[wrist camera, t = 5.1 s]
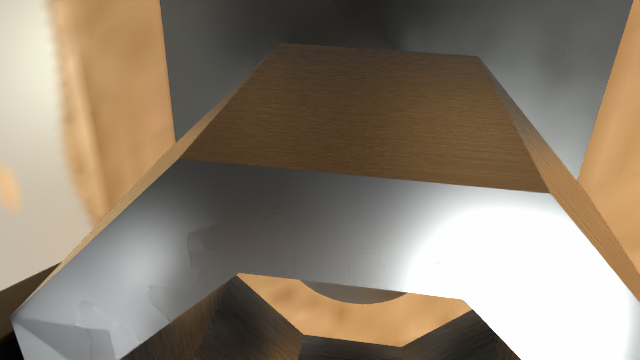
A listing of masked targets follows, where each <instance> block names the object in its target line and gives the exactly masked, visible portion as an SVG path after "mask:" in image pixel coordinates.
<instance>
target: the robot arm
mask: <svg viewBox="0 0 640 360" xmlns="http://www.w3.org/2000/svg"><path fill="white" fill-rule="evenodd" d="M61 263H62V262H60V263H58V264H56V265H54V266H52V267H50V268H48V269H46V270H43V271H42V272H39V273H37V274H35V275H33V276H31V277H29V278H27V279H25V280H23V281H20V282H18V283H16V284H14V285H12V286H10V287H8V288H6V289H4V290H2V291H0V360H24V357H23V354H22V351H21V348H20V346H19V343H18V340H17V337H16V334H15V331H14V328H13V325H12V323H11V320H10V316H11V315H12V314H13V313H14V312H15V311H16V310H17V309H18V308H19V307H20V306H21V305H22V304H23V303H24V302H25V300H26V299H27V298H28V297H29V296H30V295H31V294H32V293H33V292H34V291H35V290H36V289H37V288H38V287H39V286H40V285H41V284H42V283H43V282H44V280H45V279H46V278H47V277H48V276H49V275H50V274H51V273H52V272H53V271H54V270H55V269H56V268H57V267H58V266H59V265H60V264H61Z"/></svg>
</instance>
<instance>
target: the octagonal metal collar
mask: <svg viewBox="0 0 640 360" xmlns="http://www.w3.org/2000/svg"><path fill="white" fill-rule="evenodd" d="M238 273H246V274H255V275H263V276H272V277H281V278H289V279H298V280H306V281H315V282H323V283H332V284H341V285H349V286H358V287H366V288H375V289H383V290H392V291H401V292H409V293H418V294H426V295H435V296H443V297H452V298H461V299H464V300H465V301H466V302H467V303H468V304H469V305H470V306H471V307H472V308H473V310H471V311H469V312H467V313H465V314H463V315H461V316H460V317H458V318H456V319H454V320H452V321H450V322H448V323H446V324H444V325H442V326H441V327H439V328H437V329H435V330H433V331H431V332H429V333H427V334H425V335H424V336H422V337H420V338H418V339H416V340H414V341H412V342H410V343H408V344H407V345H405V346H403V347H395V346H388V345H380V344H372V343H364V342H356V341H349V340H341V339H333V338H325V337H317V336H310V335H303V334H302V333H301V332H300V331H299V330H298V329H296V328H295V327H294V326H293V325H292V324H291V323H290V322H289V321H287V320H286V319H285V318H284V317H283V316H282V315H281V314H279V313H278V312H277V311H276V310H275V309H274V308H273V307H272V306H270V305H269V304H268V303H267V302H266V301H265V300H264V299H262V298H261V297H260V296H259V295H258V294H257V293H256V292H255V291H253V290H252V289H251V288H250V287H249V286H248V285H247V284H246V283H244V282H243V281H242V280H241V279H240V278H239V277H238V276H236V274H238ZM10 320H11V323H12V325H13V328H14V331H15V334H16V337H17V340H18V343H19V346H20V348H21V351H22V354H23V357H24V360H640V274H639V273H638V271H637V270H636V268H635V266H634V265H633V263H632V262H631V260H630V259H629V257H628V256H627V254H626V253H625V251H624V250H623V248H622V246H621V245H620V243H619V242H618V240H617V239H616V237H615V236H614V234H613V233H612V231H611V230H610V228H609V227H608V225H607V223H606V222H605V220H604V219H603V217H602V216H601V214H600V213H599V211H598V210H597V208H596V207H595V205H594V204H593V202H592V200H591V199H590V197H589V196H588V194H587V193H586V192H585V190H584V189H583V188H582V187H581V185H580V184H579V183H578V181H577V180H576V179H575V178H574V176H573V175H572V174H571V173H570V171H569V170H568V169H567V168H566V166H565V165H564V164H563V163H562V161H561V160H560V159H559V157H558V156H557V155H556V154H555V152H554V151H553V150H552V149H551V147H550V146H549V145H548V144H547V142H546V141H545V140H544V138H543V137H542V136H541V135H540V133H539V132H538V131H537V130H536V128H535V127H534V126H533V125H532V123H531V122H530V121H529V119H528V118H527V117H526V116H525V114H524V113H523V112H522V111H521V109H520V108H519V107H518V106H517V104H516V103H515V102H514V101H513V99H512V98H511V97H510V95H509V94H508V93H507V92H506V90H505V89H504V88H503V87H502V85H501V84H500V83H499V82H498V80H497V79H496V78H495V76H494V75H493V74H492V73H491V71H490V70H489V69H488V68H487V66H486V65H485V64H484V63H483V61H482V60H481V59H480V58H479V56H471V55H456V54H441V53H426V52H411V51H396V50H381V49H366V48H352V47H337V46H322V45H307V44H292V43H279V44H278V45H277V46H276V47H275V48H274V49H273V50H272V51H271V52H270V53H269V54H268V55H267V56H266V57H265V58H264V59H263V60H262V61H261V62H260V63H259V64H258V65H256V66H255V67H254V68H253V69H252V70H251V71H250V72H249V73H248V74H247V75H246V76H245V77H244V78H243V79H242V80H241V81H240V82H239V83H238V84H237V85H236V86H235V87H234V88H233V89H232V90H231V91H229V92H228V93H227V94H226V95H225V96H224V97H223V98H222V99H221V100H220V101H219V102H218V103H217V104H216V105H215V106H214V107H213V108H212V109H211V110H210V111H209V112H208V113H207V114H206V115H205V116H204V117H203V118H201V119H200V120H199V121H198V122H197V123H196V124H195V125H194V126H193V127H192V128H191V129H190V130H189V131H188V132H187V133H186V134H185V135H184V136H183V137H182V138H181V139H180V140H179V141H178V142H177V143H176V144H174V145H173V146H172V147H171V148H170V149H169V150H168V151H167V152H166V153H165V154H164V155H163V156H162V157H161V158H160V159H159V160H158V161H157V163H156V164H155V165H154V166H153V167H152V168H151V169H150V170H149V171H148V172H147V173H146V174H145V175H144V176H143V177H142V178H141V179H140V180H139V181H138V183H137V184H136V185H135V186H134V187H133V188H132V189H131V190H130V191H129V192H128V193H127V194H126V195H125V196H124V197H123V198H122V199H121V200H120V201H119V203H118V204H117V205H116V206H115V207H114V208H113V209H112V210H111V211H110V212H109V213H108V214H107V215H106V216H105V217H104V218H103V219H102V220H101V221H100V223H99V224H98V225H97V226H96V227H95V228H94V229H93V230H92V231H91V232H90V233H89V234H88V235H87V236H86V237H85V238H84V239H83V240H82V241H81V243H80V244H79V245H78V246H77V247H76V248H75V249H74V250H73V251H72V252H71V253H70V254H69V255H68V256H67V257H66V258H65V260H63V261H62V263H61V264H60V265H59V266H58V267H57V268H56V269H55V270H54V271H53V272H52V273H51V274H50V275H49V276H48V277H47V278H46V279H45V280H44V282H43V283H42V284H41V285H40V286H39V287H38V288H37V289H36V290H35V291H34V292H33V293H32V294H31V295H30V296H29V297H28V298H27V299H26V300H25V302H24V303H23V304H22V305H21V306H20V307H19V308H18V309H17V310H16V311H15V312H14V313H13V314H12V315H11V316H10Z"/></svg>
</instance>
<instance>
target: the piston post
mask: <svg viewBox="0 0 640 360" xmlns="http://www.w3.org/2000/svg"><path fill="white" fill-rule="evenodd" d="M632 3H633V0H160V5H161V14H162V23H163V32H164V41H165V50H166V59H167V68H168V77H169V86H170V95H171V103H172V112H173V121H174V130H175V139H176V143H177V142H178V141H179V140H180V139H181V138H182V137H183V136H184V135H185V134H186V133H187V132H188V131H189V130H190V129H191V128H192V127H193V126H194V125H195V124H196V123H197V122H198V121H199V120H200V119H201V118H203V117H204V116H205V115H206V114H207V113H208V112H209V111H210V110H211V109H212V108H213V107H214V106H215V105H216V104H217V103H218V102H219V101H220V100H221V99H222V98H223V97H224V96H225V95H226V94H227V93H228V92H229V91H231V90H232V89H233V88H234V87H235V86H236V85H237V84H238V83H239V82H240V81H241V80H242V79H243V78H244V77H245V76H246V75H247V74H248V73H249V72H250V71H251V70H252V69H253V68H254V67H255V66H256V65H258V64H259V63H260V62H261V61H262V60H263V59H264V58H265V57H266V56H267V55H268V54H269V53H270V52H271V51H272V50H273V49H274V48H275V47H276V46H277V45H278V44H279V43H292V44H307V45H322V46H337V47H352V48H366V49H381V50H396V51H411V52H426V53H441V54H456V55H471V56H479V58H480V59H481V60H482V61H483V63H484V64H485V65H486V66H487V68H488V69H489V70H490V71H491V73H492V74H493V75H494V76H495V78H496V79H497V80H498V82H499V83H500V84H501V85H502V87H503V88H504V89H505V90H506V92H507V93H508V94H509V95H510V97H511V98H512V99H513V101H514V102H515V103H516V104H517V106H518V107H519V108H520V109H521V111H522V112H523V113H524V114H525V116H526V117H527V118H528V119H529V121H530V122H531V123H532V125H533V126H534V127H535V128H536V130H537V131H538V132H539V133H540V135H541V136H542V137H543V138H544V140H545V141H546V142H547V144H548V145H549V146H550V147H551V149H552V150H553V151H554V152H555V154H556V155H557V156H558V157H559V159H560V160H561V161H562V163H563V164H564V165H565V166H566V168H567V169H568V170H569V171H570V173H571V174H572V175H573V176H574V178H575V179H576V180H577V178H578V175H579V172H580V169H581V166H582V162H583V159H584V156H585V153H586V150H587V146H588V143H589V140H590V137H591V134H592V130H593V127H594V124H595V121H596V118H597V114H598V111H599V108H600V105H601V102H602V99H603V95H604V92H605V89H606V86H607V83H608V79H609V76H610V73H611V70H612V67H613V63H614V60H615V57H616V54H617V51H618V47H619V44H620V41H621V38H622V35H623V31H624V28H625V25H626V22H627V19H628V16H629V12H630V9H631V6H632ZM300 281H302V282H303V283H304V284H305V285H306V286H308V287H309V288H311V289H312V290H314V291H316V292H318V293H320V294H322V295H324V296H326V297H329V298H331V299H334V300H338V301H342V302H347V303H355V304H373V303H380V302H385V301H389V300H392V299H395V298H398V297H400V296H402V295H404V294H406V293H408V292H401V291H392V290H383V289H375V288H366V287H358V286H349V285H341V284H332V283H323V282H315V281H306V280H300Z"/></svg>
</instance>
